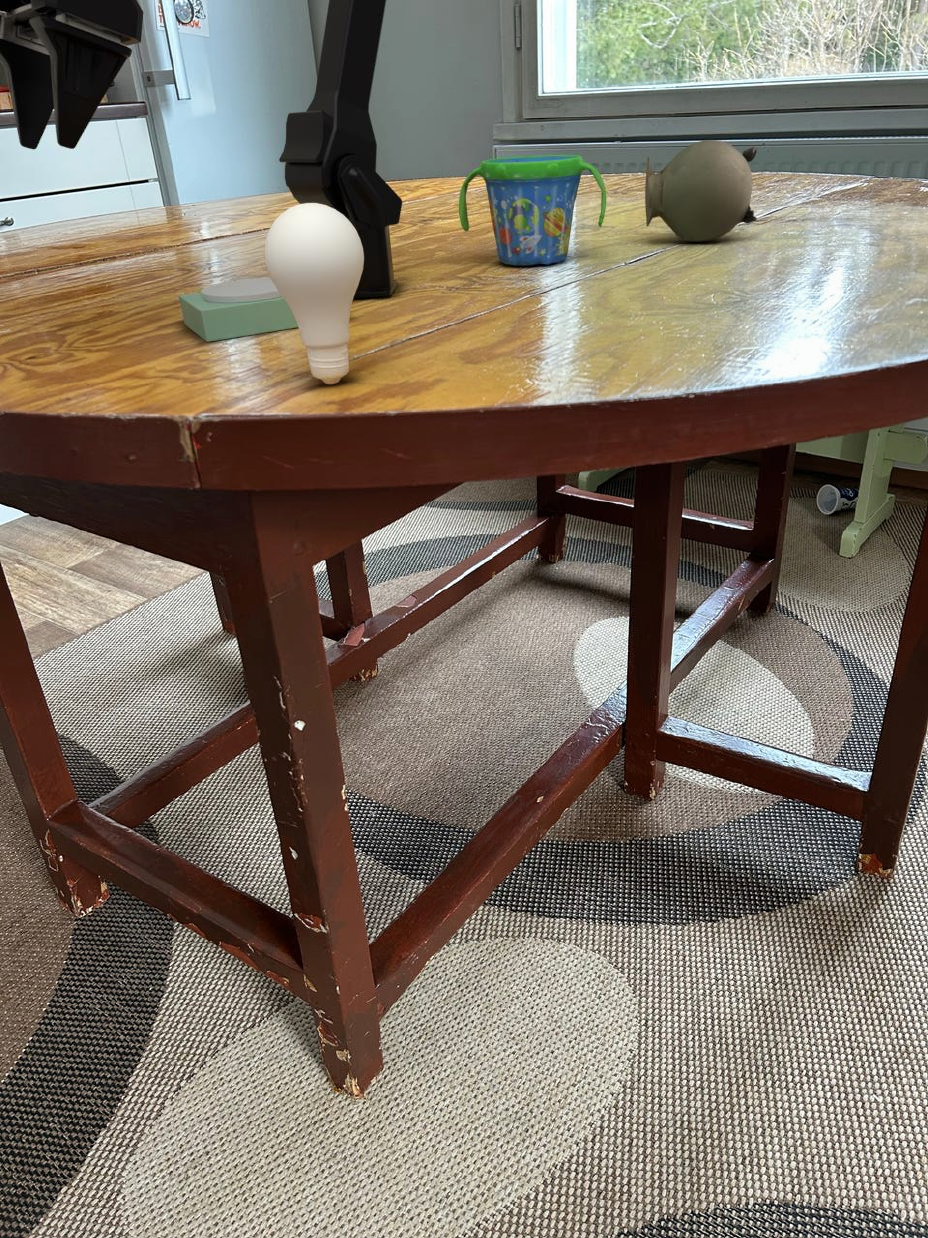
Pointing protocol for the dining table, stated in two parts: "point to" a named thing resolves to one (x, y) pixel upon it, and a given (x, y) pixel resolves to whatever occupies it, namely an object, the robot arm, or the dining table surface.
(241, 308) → the scale
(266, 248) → the lightbulb
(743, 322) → the dining table surface
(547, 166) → the snack cup
